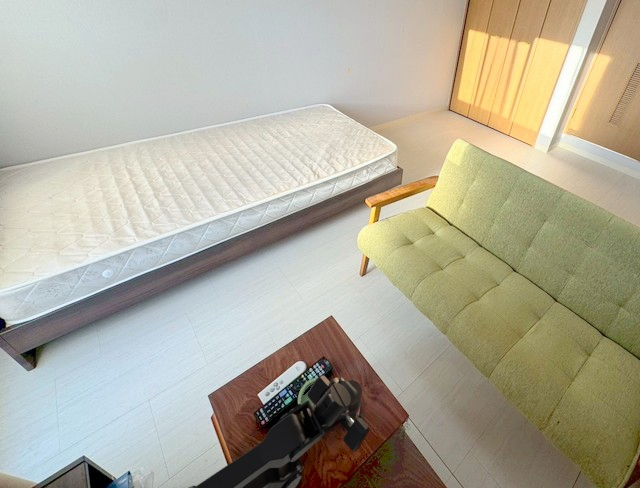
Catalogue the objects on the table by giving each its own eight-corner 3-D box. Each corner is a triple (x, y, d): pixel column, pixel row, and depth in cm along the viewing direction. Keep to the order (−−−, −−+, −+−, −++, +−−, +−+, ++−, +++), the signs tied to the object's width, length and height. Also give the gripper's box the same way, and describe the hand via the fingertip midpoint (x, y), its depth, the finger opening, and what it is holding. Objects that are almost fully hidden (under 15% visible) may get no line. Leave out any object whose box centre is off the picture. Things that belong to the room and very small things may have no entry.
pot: (310, 431, 85) (310, 425, 83) (292, 401, 90) (291, 395, 88) (339, 403, 92) (339, 397, 89) (320, 376, 97) (320, 370, 94)
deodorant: (355, 427, 87) (358, 408, 78) (336, 421, 88) (336, 401, 79) (362, 404, 92) (364, 383, 83) (343, 398, 93) (344, 377, 84)
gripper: (366, 424, 69) (392, 401, 82) (314, 365, 77) (346, 353, 91) (339, 468, 68) (370, 437, 82) (290, 403, 76) (325, 385, 90)
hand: (352, 400), depth 86 cm, fingers open, 9 cm apart
